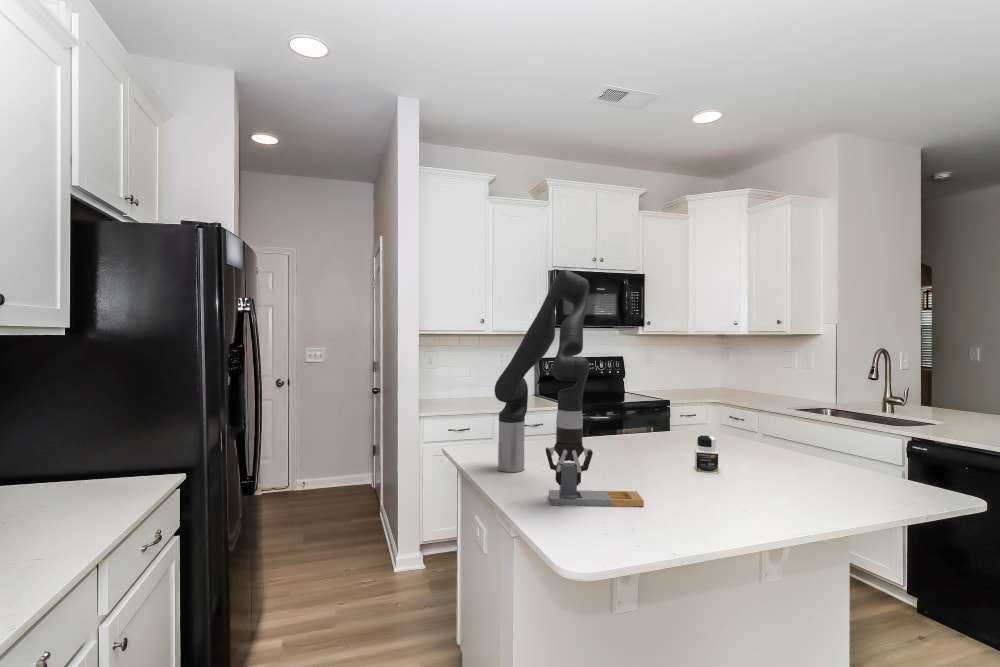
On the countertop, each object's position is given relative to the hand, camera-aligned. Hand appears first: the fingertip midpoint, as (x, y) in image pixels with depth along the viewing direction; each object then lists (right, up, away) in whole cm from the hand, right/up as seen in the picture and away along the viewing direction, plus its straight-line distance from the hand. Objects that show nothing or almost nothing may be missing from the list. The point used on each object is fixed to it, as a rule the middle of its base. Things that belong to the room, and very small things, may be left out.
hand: (568, 484), depth 145 cm
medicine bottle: (+54, -6, +35) cm, 65 cm away
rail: (+8, -5, 0) cm, 9 cm away
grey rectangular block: (0, -2, 0) cm, 2 cm away
